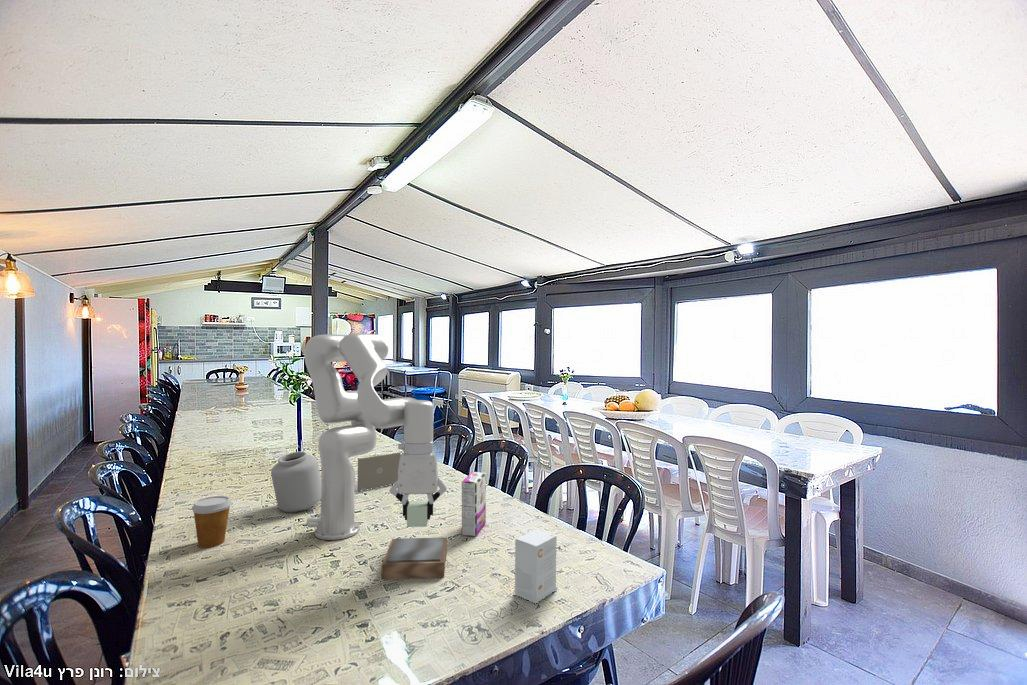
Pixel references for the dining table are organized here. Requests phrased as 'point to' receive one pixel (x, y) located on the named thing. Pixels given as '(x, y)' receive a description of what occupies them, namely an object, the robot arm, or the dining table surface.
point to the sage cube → (417, 514)
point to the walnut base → (415, 558)
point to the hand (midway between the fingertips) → (418, 517)
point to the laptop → (377, 471)
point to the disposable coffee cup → (211, 520)
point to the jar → (296, 481)
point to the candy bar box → (473, 503)
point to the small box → (535, 565)
